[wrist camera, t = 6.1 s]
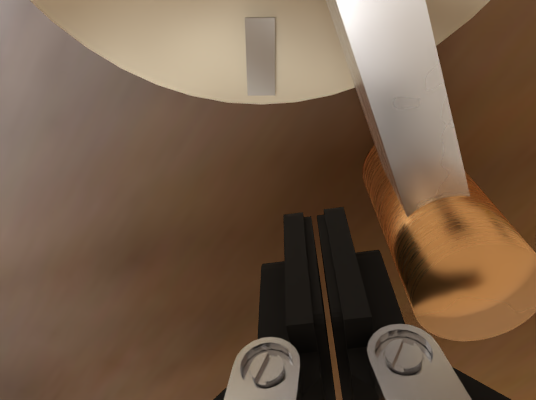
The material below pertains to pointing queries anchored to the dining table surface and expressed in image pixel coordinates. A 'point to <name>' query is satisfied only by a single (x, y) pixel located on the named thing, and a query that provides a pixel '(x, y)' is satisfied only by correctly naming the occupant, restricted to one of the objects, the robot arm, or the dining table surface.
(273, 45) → the base plate
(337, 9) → the crank handle
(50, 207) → the dining table surface
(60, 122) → the dining table surface
